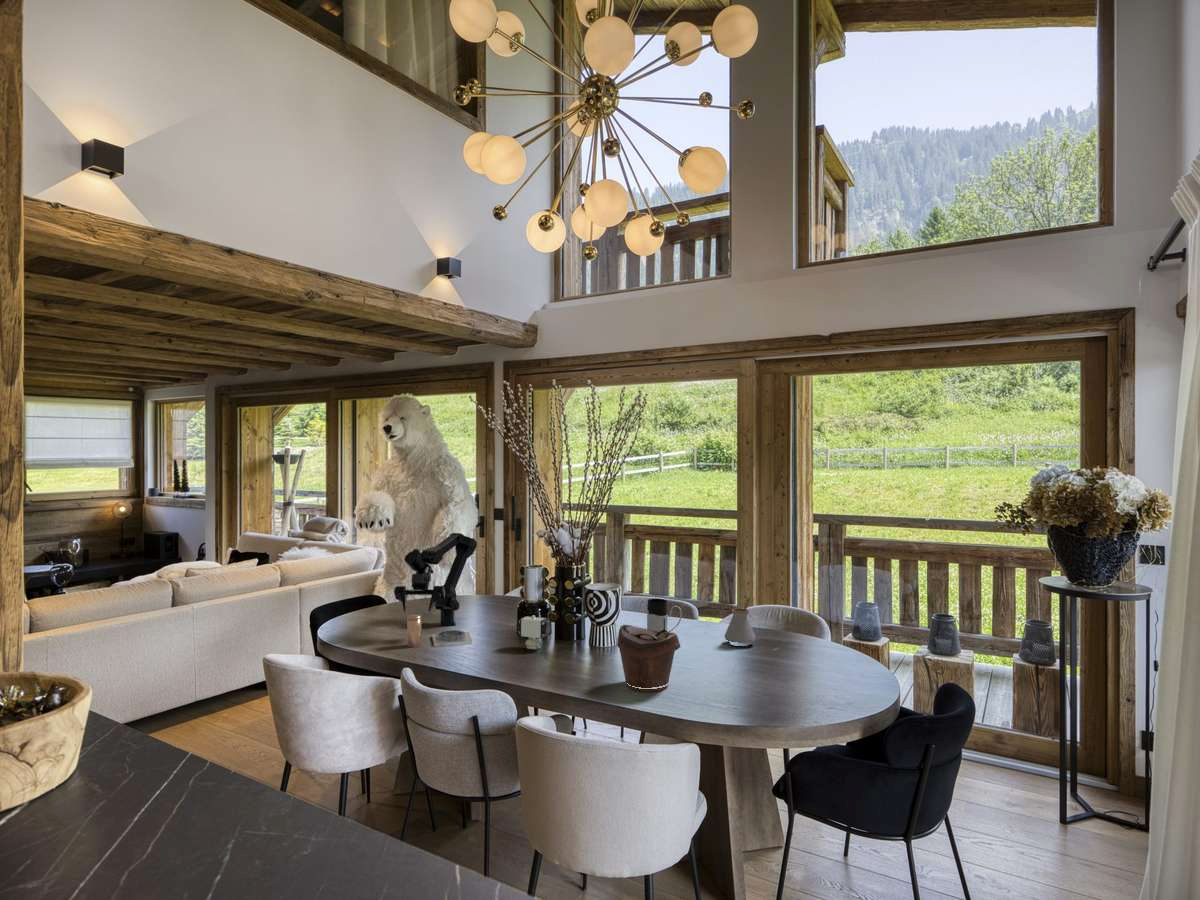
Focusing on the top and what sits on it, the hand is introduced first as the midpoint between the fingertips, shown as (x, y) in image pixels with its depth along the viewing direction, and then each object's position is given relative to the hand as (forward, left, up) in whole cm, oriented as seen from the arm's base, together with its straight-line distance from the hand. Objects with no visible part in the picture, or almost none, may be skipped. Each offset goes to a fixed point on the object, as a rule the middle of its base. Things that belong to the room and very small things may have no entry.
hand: (416, 611), depth 260 cm
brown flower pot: (+70, +67, -12) cm, 98 cm away
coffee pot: (+32, +120, -12) cm, 125 cm away
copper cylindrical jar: (+5, -1, -11) cm, 13 cm away
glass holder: (+23, +91, -12) cm, 95 cm away
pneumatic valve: (+20, +41, -12) cm, 47 cm away
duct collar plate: (+1, +13, -11) cm, 17 cm away
